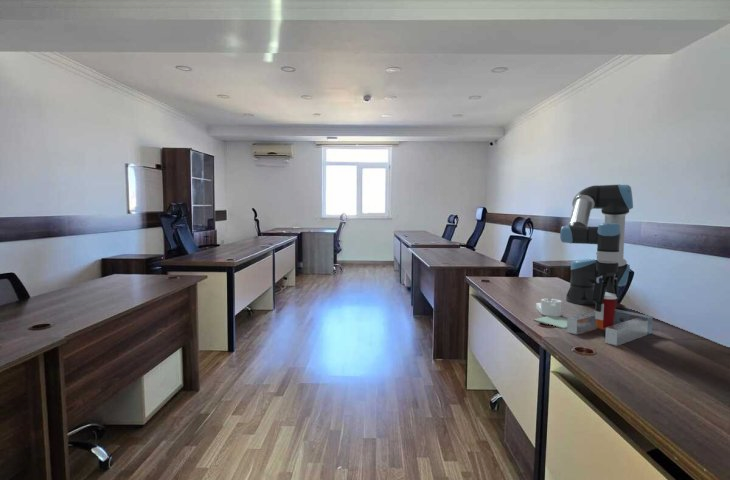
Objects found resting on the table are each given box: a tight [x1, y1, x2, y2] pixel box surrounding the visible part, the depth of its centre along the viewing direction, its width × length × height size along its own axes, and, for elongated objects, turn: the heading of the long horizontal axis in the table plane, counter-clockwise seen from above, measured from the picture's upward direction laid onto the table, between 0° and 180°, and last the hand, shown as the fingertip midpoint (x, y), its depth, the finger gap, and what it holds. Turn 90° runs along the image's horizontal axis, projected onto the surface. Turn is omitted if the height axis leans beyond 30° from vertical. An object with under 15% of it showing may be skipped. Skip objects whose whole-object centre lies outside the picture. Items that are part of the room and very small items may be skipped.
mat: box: [533, 315, 567, 330], centre depth 172 cm, size 14×14×1 cm
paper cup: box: [596, 291, 618, 331], centre depth 155 cm, size 8×8×14 cm
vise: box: [566, 308, 654, 347], centre depth 159 cm, size 37×19×7 cm, turn 121°
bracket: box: [535, 298, 562, 317], centre depth 188 cm, size 20×9×7 cm, turn 165°
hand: (604, 317), depth 155 cm, fingers closed on paper cup, 8 cm apart
